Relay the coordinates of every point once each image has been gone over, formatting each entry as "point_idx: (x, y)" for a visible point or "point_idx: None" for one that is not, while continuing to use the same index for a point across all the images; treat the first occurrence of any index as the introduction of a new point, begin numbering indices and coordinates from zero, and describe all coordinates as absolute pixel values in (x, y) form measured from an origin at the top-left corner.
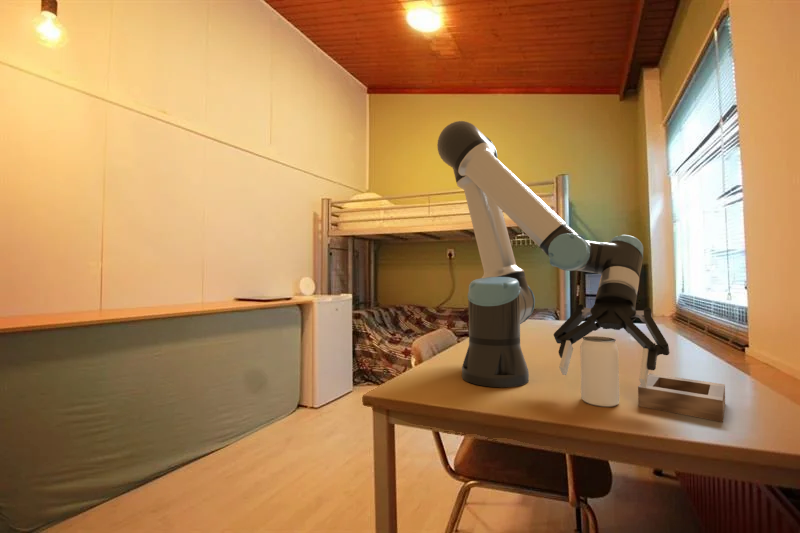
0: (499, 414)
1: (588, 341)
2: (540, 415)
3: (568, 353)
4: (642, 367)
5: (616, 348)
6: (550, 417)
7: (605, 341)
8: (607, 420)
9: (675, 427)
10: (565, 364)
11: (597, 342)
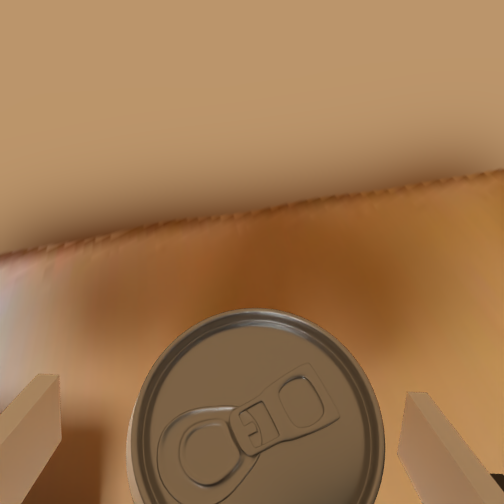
0: (422, 187)
1: (308, 329)
2: (345, 230)
3: (454, 493)
4: (18, 414)
5: (134, 405)
6: (320, 231)
7: (196, 326)
8: (189, 289)
9: (9, 341)
10: (417, 431)
11: (245, 313)
